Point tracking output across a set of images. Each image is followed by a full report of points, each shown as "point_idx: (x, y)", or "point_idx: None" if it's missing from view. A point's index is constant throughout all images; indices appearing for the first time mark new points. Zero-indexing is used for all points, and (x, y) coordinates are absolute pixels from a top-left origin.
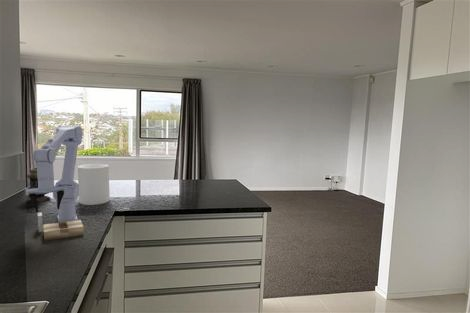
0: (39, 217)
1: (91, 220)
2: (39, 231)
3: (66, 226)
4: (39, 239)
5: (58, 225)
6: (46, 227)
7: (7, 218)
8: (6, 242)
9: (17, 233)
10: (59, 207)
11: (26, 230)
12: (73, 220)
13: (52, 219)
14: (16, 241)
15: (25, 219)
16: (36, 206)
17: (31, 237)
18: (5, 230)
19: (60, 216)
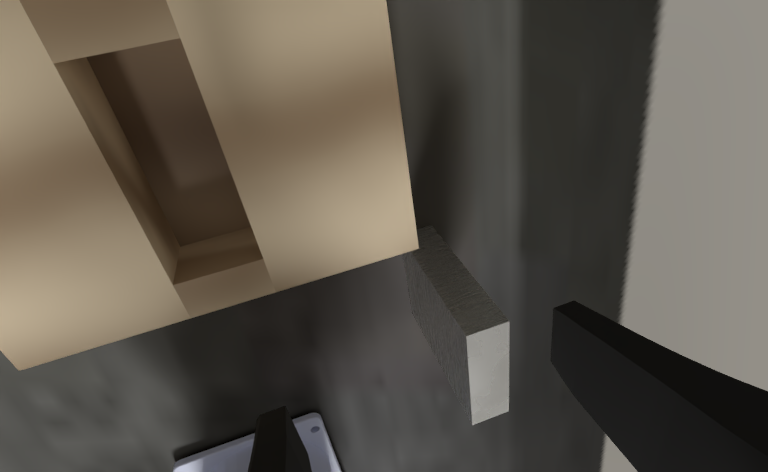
0: (483, 313)
1: (23, 461)
2: (427, 231)
3: (180, 256)
4: (404, 20)
5: (243, 189)
6: (373, 144)
7: (592, 452)
8: (646, 31)
9: (565, 228)
10: (254, 444)
11: (513, 278)
12: (105, 343)
13: (371, 457)
14: (583, 31)
15: (518, 446)
16: (646, 356)
17: (476, 107)
18: (619, 293)
19: (313, 469)
